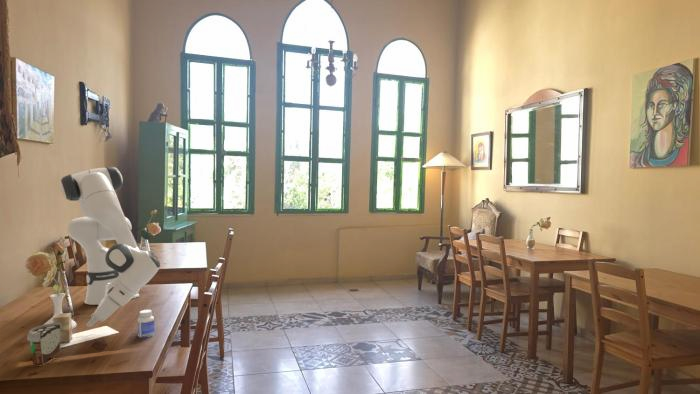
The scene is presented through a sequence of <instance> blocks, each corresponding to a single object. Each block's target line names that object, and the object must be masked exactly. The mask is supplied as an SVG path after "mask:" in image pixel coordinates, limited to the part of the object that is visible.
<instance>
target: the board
mask: <svg viewBox="0 0 700 394" xmlns="http://www.w3.org/2000/svg"><path fill="white" fill-rule="evenodd" d="M119 333H120V332H119V331H117V330H116V329H114V328H112V327H110V326H108V325H103V326H100V327H96V328H90V329H87V330H84V331H79V332H77V333H72V339H71V341H70V343H63V344H60V349H61V348H64V347H69V346H73V345H76V344H81V343H85V342H87V341H88V342H89V341H92V340H96V339H100V338H104V337H107V336H112V335H115V334H119Z"/></svg>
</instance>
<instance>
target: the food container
mask: <svg viewBox="0 0 700 394" xmlns="http://www.w3.org/2000/svg"><path fill="white" fill-rule="evenodd" d="M44 324H45V323H44ZM44 324H42V325H38V326H35V327H33V328H31V329H30V330H29V331H28V333H27V337H26V339H27V341H28V342H29V343H30V344H29V345H30V351H31V352H30V353H31V359H32V364H33V365H34V364H35V365H34V366H36V365H43V364H45V363H46V364H48V363H49V362H50V360H51V359H52V360H53V359H55V358H54V357H52V356H53V355H54V354H55V355H56V353H58V352H59V351H61V348H60V340H61V328H62V325H61V322H59V323H50V324H45V325H44ZM52 360H51V361H52ZM48 361H49V362H48ZM47 362H48V363H47ZM46 364H45V365H46Z"/></svg>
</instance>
